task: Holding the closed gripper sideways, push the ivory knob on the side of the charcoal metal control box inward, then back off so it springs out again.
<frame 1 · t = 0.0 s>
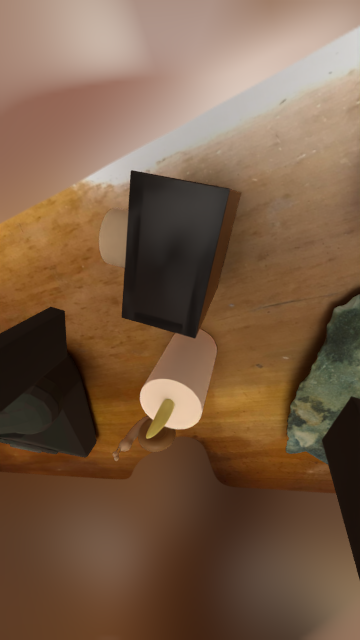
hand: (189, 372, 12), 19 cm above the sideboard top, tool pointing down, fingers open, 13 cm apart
knob: (148, 244, 21), point 8 cm above the sideboard top, slide at 0.1 cm
rotary telephone: (31, 388, 47), on the sideboard top
candle: (194, 348, 34), on the sideboard top
control box: (200, 238, 27), on the sideboard top
snail figurine: (171, 387, 38), on the sideboard top
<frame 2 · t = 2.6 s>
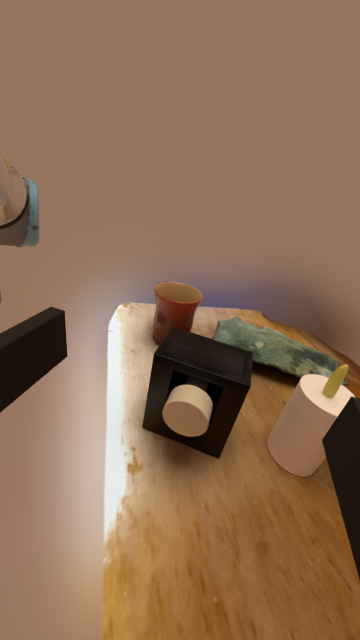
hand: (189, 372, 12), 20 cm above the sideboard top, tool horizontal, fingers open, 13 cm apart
knob: (192, 396, 27), point 8 cm above the sideboard top, slide at 0.1 cm
decorative stone: (267, 359, 50), on the sideboard top
mug: (167, 334, 51), on the sideboard top
candle: (291, 451, 33), on the sideboard top
control box: (186, 423, 33), on the sideboard top
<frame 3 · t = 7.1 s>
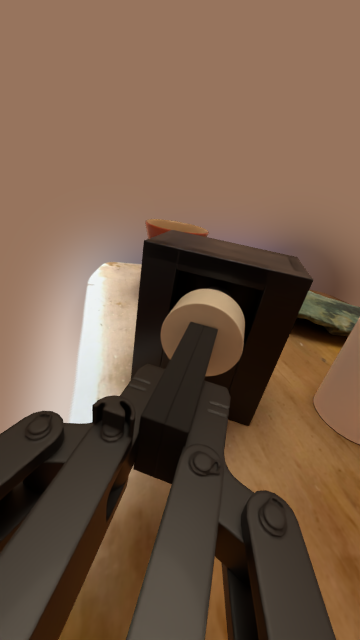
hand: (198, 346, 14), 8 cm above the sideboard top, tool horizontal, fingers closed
knob: (209, 318, 16), point 8 cm above the sideboard top, slide at 0.0 cm, touching gripper
decorative stone: (290, 317, 40), on the sideboard top
mug: (163, 291, 41), on the sideboard top
candle: (349, 416, 22), on the sideboard top
control box: (195, 381, 23), on the sideboard top
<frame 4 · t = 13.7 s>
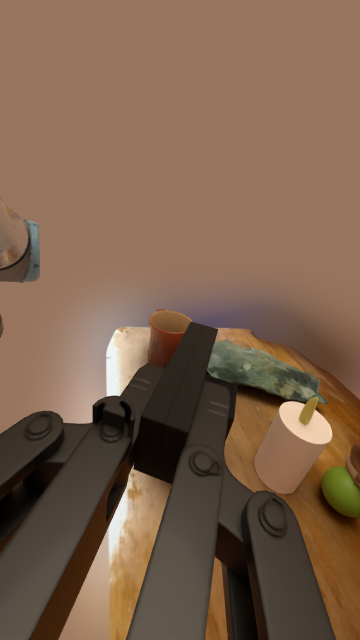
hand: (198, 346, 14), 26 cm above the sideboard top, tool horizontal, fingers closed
decorative stone: (255, 379, 54), on the sideboard top
mug: (162, 358, 54), on the sideboard top
candle: (275, 470, 36), on the sideboard top
control box: (180, 448, 37), on the sideboard top
snail figurine: (337, 506, 33), on the sideboard top
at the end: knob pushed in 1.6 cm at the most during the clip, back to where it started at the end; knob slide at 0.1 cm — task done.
